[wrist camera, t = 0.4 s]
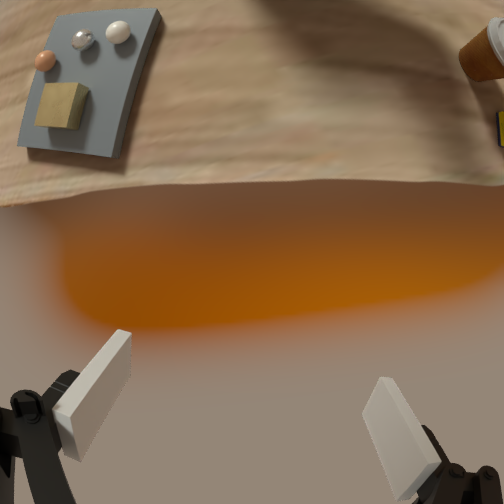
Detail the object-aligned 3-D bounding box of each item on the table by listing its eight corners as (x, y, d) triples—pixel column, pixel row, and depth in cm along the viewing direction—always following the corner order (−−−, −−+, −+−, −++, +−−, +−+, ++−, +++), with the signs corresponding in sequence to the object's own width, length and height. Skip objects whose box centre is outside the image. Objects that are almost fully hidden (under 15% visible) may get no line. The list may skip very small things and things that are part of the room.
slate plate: (64, 21, 33) (57, 16, 30) (161, 16, 33) (156, 8, 31) (26, 146, 37) (16, 146, 35) (119, 158, 38) (111, 157, 36)
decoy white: (116, 27, 31) (106, 17, 28) (137, 26, 32) (128, 16, 28) (108, 47, 32) (97, 38, 29) (129, 47, 32) (120, 38, 29)
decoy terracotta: (47, 54, 32) (35, 48, 29) (63, 53, 32) (51, 46, 29) (40, 74, 33) (27, 69, 29) (56, 73, 33) (43, 68, 29)
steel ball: (82, 34, 31) (72, 26, 28) (101, 33, 32) (91, 24, 28) (75, 54, 32) (63, 47, 29) (93, 54, 32) (82, 45, 29)
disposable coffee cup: (449, 73, 34) (495, 51, 23) (451, 29, 32) (491, 3, 21) (491, 100, 35) (539, 89, 23) (492, 57, 33) (535, 39, 21)
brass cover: (56, 87, 33) (45, 83, 30) (89, 88, 33) (78, 82, 30) (46, 127, 34) (34, 125, 31) (78, 130, 34) (66, 127, 32)
